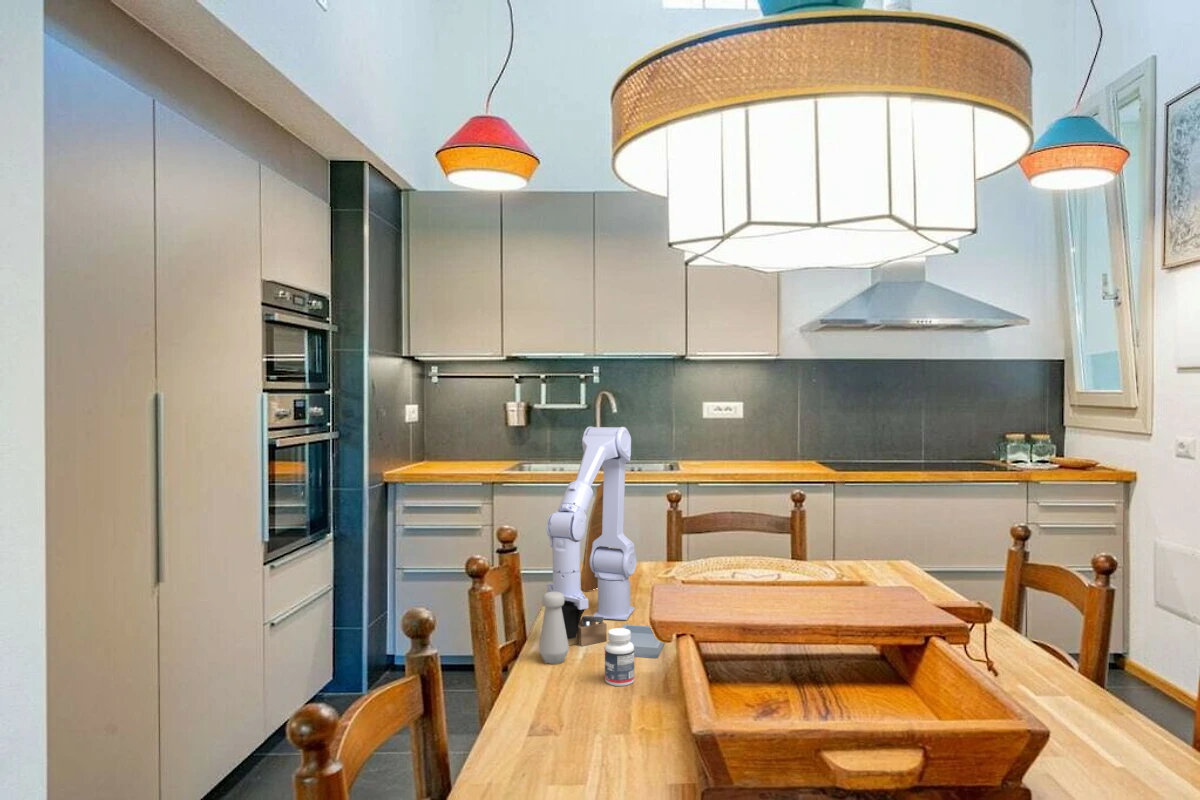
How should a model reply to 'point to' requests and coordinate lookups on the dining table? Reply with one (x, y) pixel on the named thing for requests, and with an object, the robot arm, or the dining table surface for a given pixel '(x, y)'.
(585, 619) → the grey lever handle
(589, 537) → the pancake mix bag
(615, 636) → the pill bottle
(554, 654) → the salt shaker
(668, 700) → the dining table surface
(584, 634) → the wooden stool frame
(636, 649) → the tray
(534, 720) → the dining table surface
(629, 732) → the dining table surface
